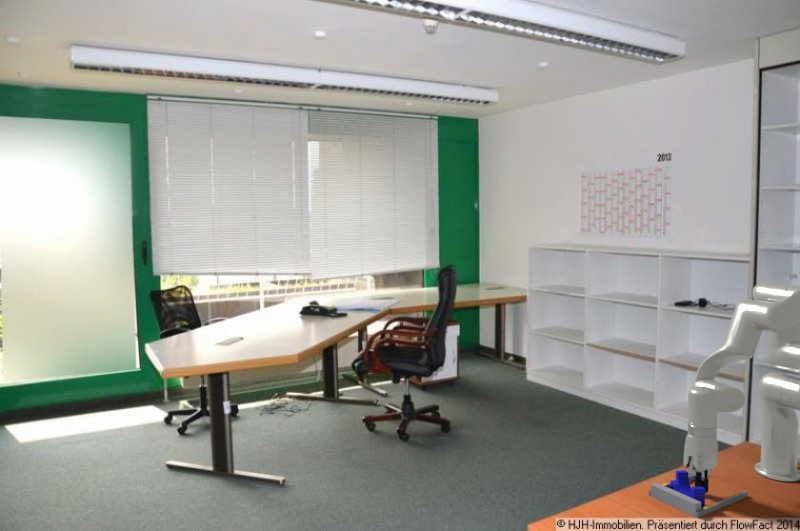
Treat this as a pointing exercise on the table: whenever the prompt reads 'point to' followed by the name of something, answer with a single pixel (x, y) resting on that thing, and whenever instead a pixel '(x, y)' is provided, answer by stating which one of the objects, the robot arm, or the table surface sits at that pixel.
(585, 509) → the table surface
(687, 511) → the u-shaped alignment fixture
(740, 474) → the table surface
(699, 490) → the cable clip
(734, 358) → the robot arm
